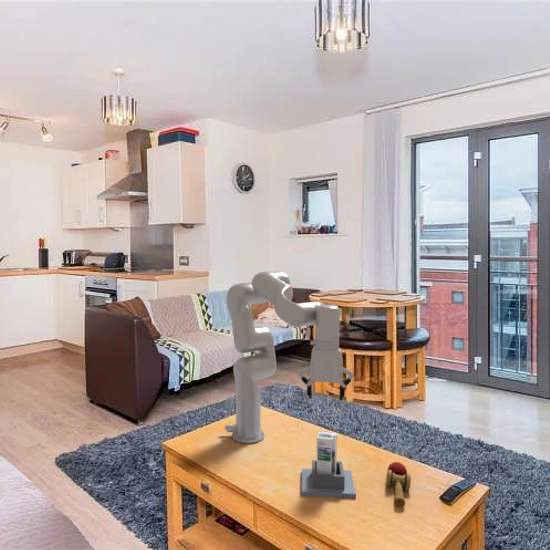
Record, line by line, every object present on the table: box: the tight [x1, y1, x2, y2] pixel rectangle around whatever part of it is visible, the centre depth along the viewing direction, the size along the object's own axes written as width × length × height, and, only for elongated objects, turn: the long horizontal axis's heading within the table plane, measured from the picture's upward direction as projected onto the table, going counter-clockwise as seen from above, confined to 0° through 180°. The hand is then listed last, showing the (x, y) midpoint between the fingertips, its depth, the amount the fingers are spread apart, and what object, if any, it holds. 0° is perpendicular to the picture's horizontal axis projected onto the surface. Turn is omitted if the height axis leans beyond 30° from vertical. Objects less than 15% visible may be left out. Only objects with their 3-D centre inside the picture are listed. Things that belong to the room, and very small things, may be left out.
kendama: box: [385, 461, 412, 508], centre depth 137 cm, size 8×6×18 cm
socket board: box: [301, 459, 357, 499], centre depth 140 cm, size 16×14×5 cm
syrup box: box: [316, 431, 338, 475], centre depth 140 cm, size 6×6×14 cm
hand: (325, 398), depth 142 cm, fingers open, 9 cm apart
